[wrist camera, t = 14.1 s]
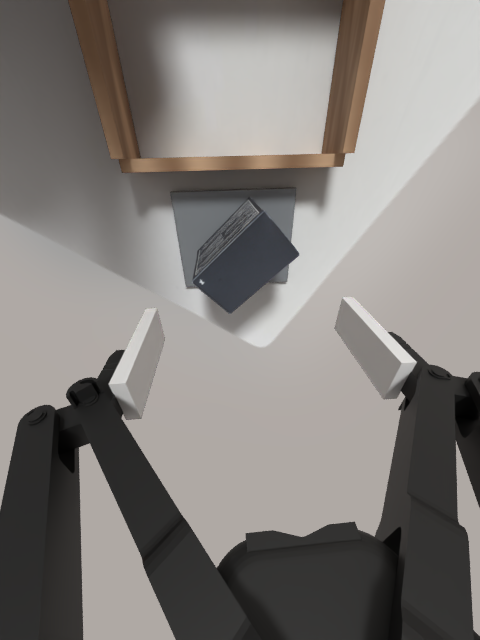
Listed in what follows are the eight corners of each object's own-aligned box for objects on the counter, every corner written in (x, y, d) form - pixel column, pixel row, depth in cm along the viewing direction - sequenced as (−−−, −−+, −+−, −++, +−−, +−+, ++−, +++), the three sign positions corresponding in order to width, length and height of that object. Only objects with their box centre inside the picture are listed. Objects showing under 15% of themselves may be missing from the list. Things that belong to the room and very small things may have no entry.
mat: (186, 285, 37) (186, 286, 37) (171, 191, 30) (170, 192, 29) (286, 279, 38) (287, 281, 37) (295, 187, 31) (296, 188, 30)
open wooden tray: (133, 171, 28) (107, 174, 22) (55, -163, 17) (-50, -370, 10) (329, 166, 30) (360, 167, 23) (379, -150, 18) (471, -329, 12)
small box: (227, 281, 37) (230, 318, 28) (195, 251, 34) (187, 282, 25) (280, 232, 33) (302, 257, 24) (250, 194, 30) (262, 207, 21)
